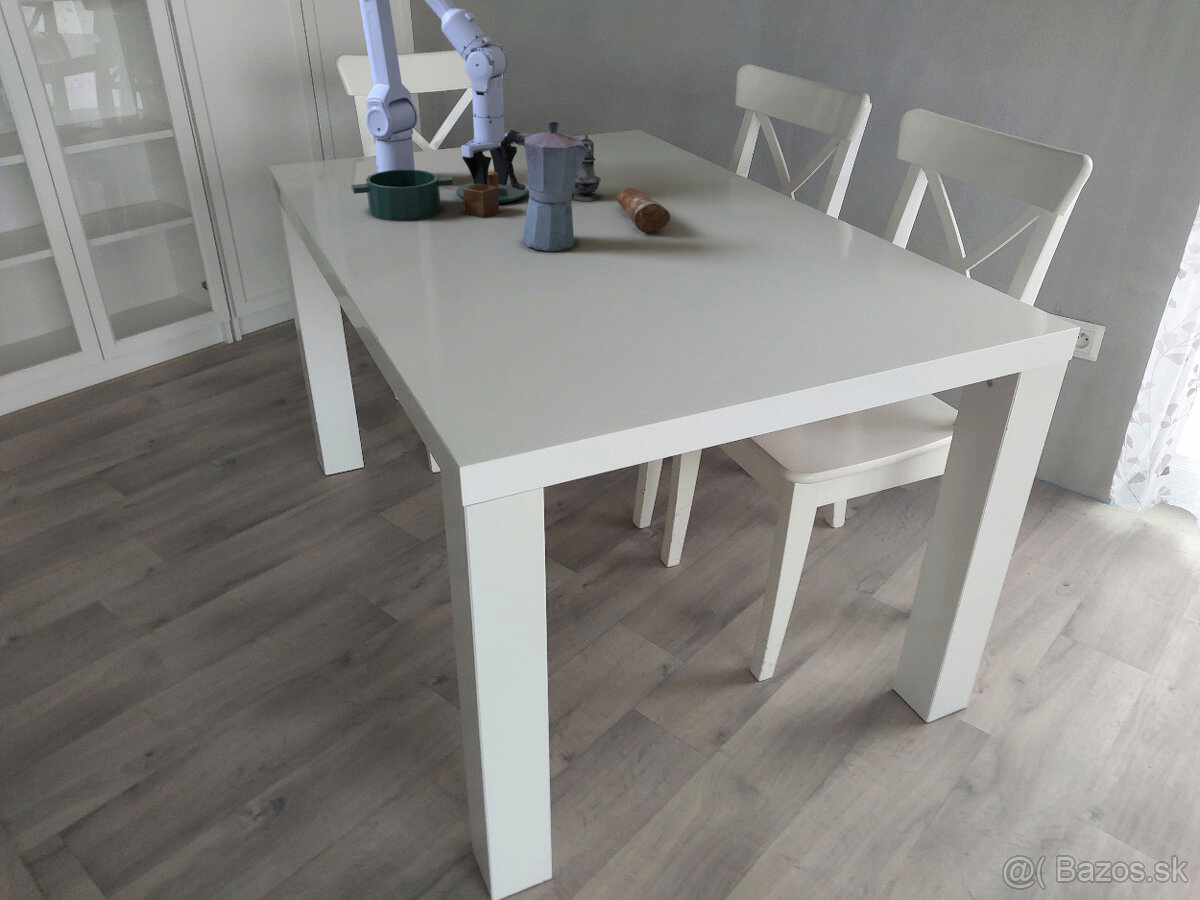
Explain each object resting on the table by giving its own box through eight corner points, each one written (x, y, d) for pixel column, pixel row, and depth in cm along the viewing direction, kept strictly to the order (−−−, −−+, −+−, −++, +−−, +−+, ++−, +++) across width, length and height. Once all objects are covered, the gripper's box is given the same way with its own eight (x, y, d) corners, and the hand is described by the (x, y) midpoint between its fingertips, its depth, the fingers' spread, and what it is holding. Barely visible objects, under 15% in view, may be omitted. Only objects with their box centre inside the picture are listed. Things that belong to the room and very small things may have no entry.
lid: (448, 189, 186) (447, 167, 184) (514, 183, 191) (513, 162, 188) (467, 208, 175) (466, 185, 173) (537, 202, 180) (536, 179, 178)
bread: (635, 237, 162) (636, 205, 160) (612, 206, 178) (613, 176, 176) (670, 235, 164) (672, 203, 161) (644, 204, 180) (645, 175, 177)
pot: (349, 205, 176) (345, 173, 172) (444, 196, 182) (442, 166, 179) (362, 225, 165) (358, 191, 162) (462, 215, 172) (460, 182, 169)
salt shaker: (600, 201, 181) (601, 138, 175) (569, 201, 181) (570, 137, 175) (600, 193, 186) (602, 131, 180) (571, 192, 186) (571, 130, 180)
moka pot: (584, 256, 153) (585, 130, 143) (494, 249, 156) (489, 124, 146) (596, 238, 161) (598, 118, 151) (510, 231, 164) (506, 112, 154)
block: (464, 213, 173) (462, 188, 170) (479, 207, 176) (478, 182, 174) (484, 217, 171) (482, 192, 168) (499, 211, 174) (498, 186, 172)
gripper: (481, 124, 168) (484, 199, 175) (528, 111, 179) (529, 183, 186) (450, 119, 171) (455, 193, 178) (499, 107, 182) (501, 177, 189)
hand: (491, 187), depth 182 cm, fingers open, 6 cm apart
